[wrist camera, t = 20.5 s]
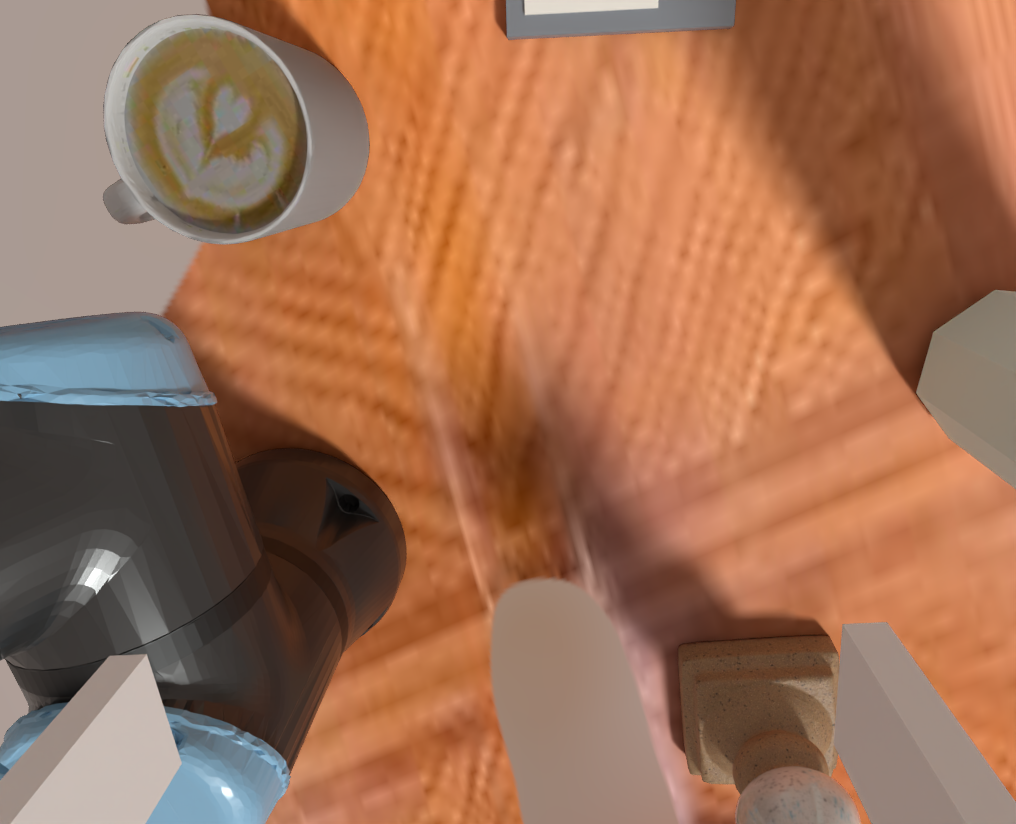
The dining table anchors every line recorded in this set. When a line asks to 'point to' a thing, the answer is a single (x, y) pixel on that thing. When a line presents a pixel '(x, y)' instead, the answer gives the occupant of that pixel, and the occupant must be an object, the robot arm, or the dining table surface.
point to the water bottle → (976, 381)
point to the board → (614, 17)
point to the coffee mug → (229, 132)
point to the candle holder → (766, 726)
